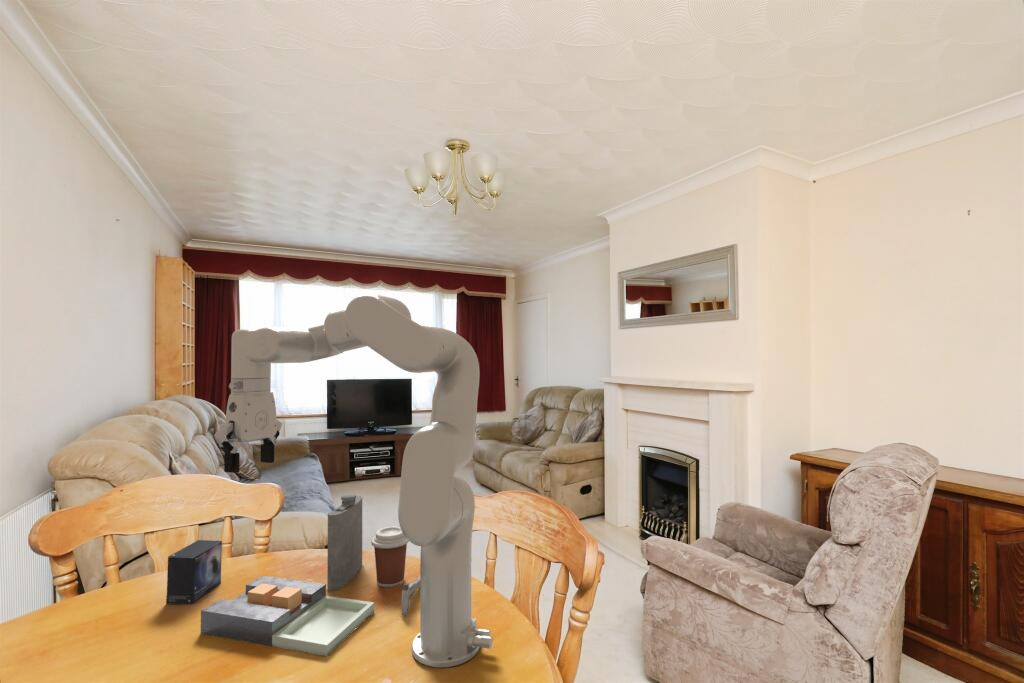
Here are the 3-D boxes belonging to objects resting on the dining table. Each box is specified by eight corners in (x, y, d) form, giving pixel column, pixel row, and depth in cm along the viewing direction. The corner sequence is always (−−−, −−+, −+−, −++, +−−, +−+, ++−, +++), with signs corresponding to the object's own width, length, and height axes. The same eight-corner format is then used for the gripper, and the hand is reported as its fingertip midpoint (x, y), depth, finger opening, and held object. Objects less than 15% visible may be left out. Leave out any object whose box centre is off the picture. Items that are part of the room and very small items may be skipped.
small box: (193, 605, 108) (194, 557, 108) (164, 605, 108) (165, 557, 109) (223, 583, 119) (223, 539, 119) (196, 583, 119) (197, 539, 119)
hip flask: (352, 562, 130) (352, 486, 131) (367, 562, 130) (367, 486, 131) (325, 590, 114) (325, 504, 115) (341, 591, 114) (342, 504, 115)
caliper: (406, 617, 102) (406, 587, 103) (401, 617, 103) (401, 587, 103) (429, 574, 123) (429, 549, 123) (425, 574, 123) (425, 549, 123)
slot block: (325, 604, 108) (325, 584, 108) (272, 646, 92) (272, 622, 92) (262, 595, 112) (262, 575, 112) (200, 633, 97) (200, 610, 97)
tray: (374, 612, 104) (374, 602, 104) (327, 656, 89) (327, 645, 89) (325, 604, 108) (325, 595, 108) (272, 646, 92) (272, 635, 92)
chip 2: (301, 603, 102) (301, 588, 102) (288, 613, 98) (288, 597, 99) (285, 601, 103) (285, 586, 103) (271, 610, 99) (271, 595, 100)
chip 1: (277, 599, 104) (277, 585, 104) (263, 609, 100) (263, 594, 100) (262, 597, 105) (262, 583, 105) (247, 606, 101) (247, 592, 101)
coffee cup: (363, 587, 116) (363, 536, 116) (382, 571, 124) (382, 523, 125) (399, 591, 113) (399, 539, 114) (415, 574, 122) (415, 526, 123)
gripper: (232, 389, 96) (231, 477, 95) (293, 384, 112) (293, 459, 112) (202, 389, 98) (200, 475, 97) (266, 384, 114) (266, 458, 114)
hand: (250, 467), depth 104 cm, fingers open, 9 cm apart
